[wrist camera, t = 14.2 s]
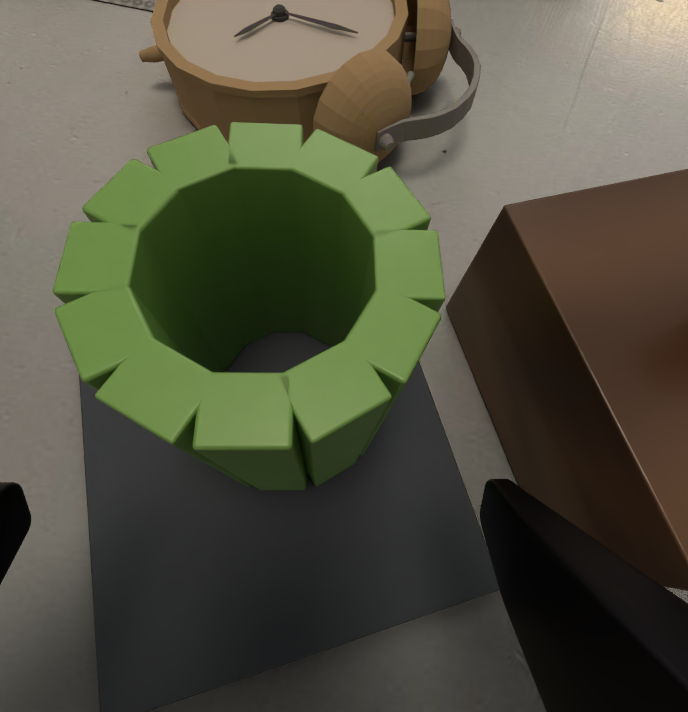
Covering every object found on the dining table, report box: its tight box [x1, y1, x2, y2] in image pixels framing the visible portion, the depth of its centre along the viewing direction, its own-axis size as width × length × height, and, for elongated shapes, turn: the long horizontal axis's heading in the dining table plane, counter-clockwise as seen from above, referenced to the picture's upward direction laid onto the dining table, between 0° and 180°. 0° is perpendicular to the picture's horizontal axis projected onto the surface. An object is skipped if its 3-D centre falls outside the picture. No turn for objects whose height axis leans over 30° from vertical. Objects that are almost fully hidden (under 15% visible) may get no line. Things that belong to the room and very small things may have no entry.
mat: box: [79, 332, 499, 712], centre depth 15 cm, size 14×12×1 cm
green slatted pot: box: [53, 122, 445, 490], centre depth 12 cm, size 7×7×8 cm
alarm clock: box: [139, 0, 481, 162], centre depth 20 cm, size 11×5×15 cm
